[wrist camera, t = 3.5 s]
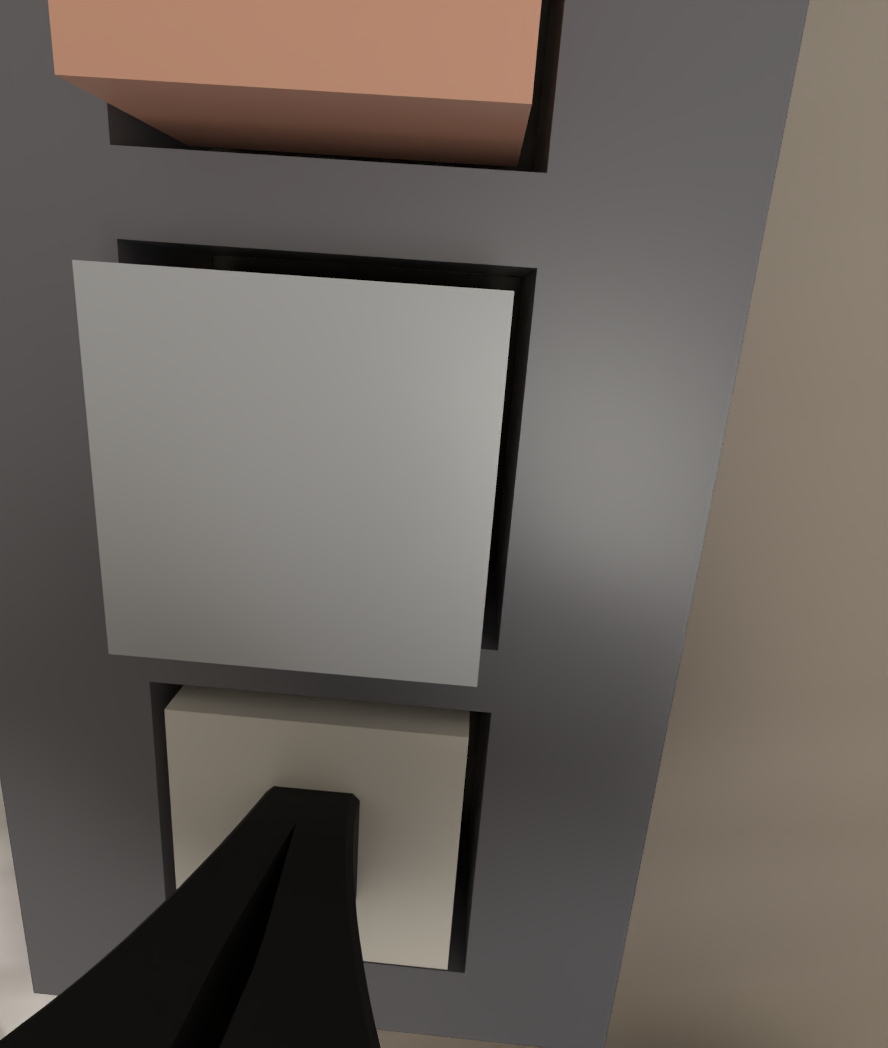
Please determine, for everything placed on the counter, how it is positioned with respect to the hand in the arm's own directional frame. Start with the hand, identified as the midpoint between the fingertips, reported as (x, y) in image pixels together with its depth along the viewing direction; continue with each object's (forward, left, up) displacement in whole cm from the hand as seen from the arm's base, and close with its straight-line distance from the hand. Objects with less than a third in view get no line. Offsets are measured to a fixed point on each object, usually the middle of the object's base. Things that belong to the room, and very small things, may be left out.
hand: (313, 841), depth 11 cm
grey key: (+6, 0, -2) cm, 6 cm away
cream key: (0, 0, -3) cm, 3 cm away
